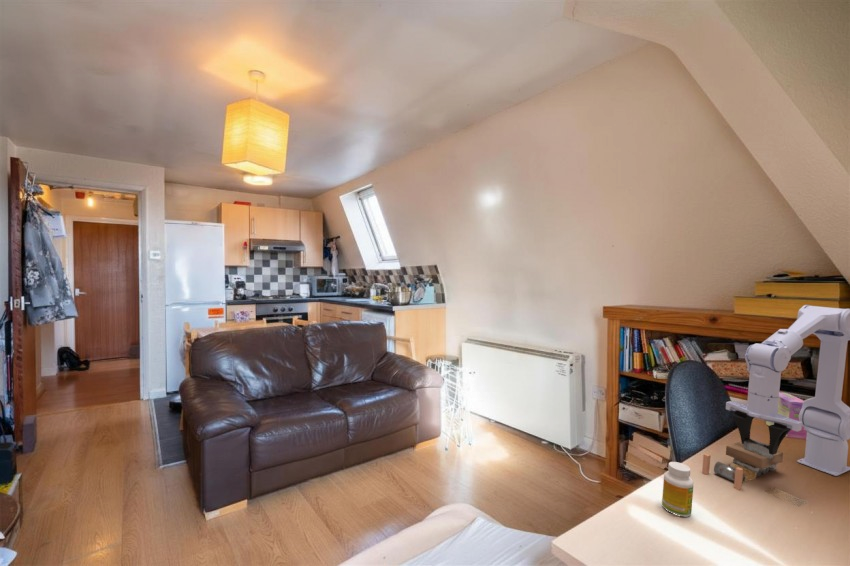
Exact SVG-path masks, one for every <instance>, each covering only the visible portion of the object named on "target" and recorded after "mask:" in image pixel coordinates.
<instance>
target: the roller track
mask: <svg viewBox="0 0 850 566" xmlns="http://www.w3.org/2000/svg"><path fill="white" fill-rule="evenodd" d="M737 467H739V468H742V469H743V478H742V483H747V482H750V481H753V480H756V479H757V477H760V476H761V475H762V474H763V475H766V474H768V472H769V471H770V472H774V471H775V470H776V468H777V464H775V465H772V466H769V467H766V468H764V469H760V468H758V467H755V466H753V465H750V464H748V463H745V462H743V461H740V460H738V459H735V458H733V461H730V465H729V464H726V463H724V462H722V461H716V463H715V464H714V467H713V472H714V474H715V475H716V476H717V475H718V476H720V477H722V478H723V479H727V480H729V481H731V482H733V483H734V482H735V470H736V468H737ZM764 492H765V493H766V494H767V493H768V494H770V496H774V497H776V498H778V499H781V500H782V501H784V502H787V503H790V504H792V505H795V506H796V507H801V506H803V505H806V504H808V503H809V501H807V500H805V499H804V498H803V499H802V498H800V497H798V496H796V495H793V494H791V493H788V492H786V491H784V490H781V489H779V488H777V487H776V486H775V487H773V486H772V487H771V488H769V489H766V490H764Z"/></svg>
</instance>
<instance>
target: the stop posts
mask: <svg viewBox="0 0 850 566" xmlns="http://www.w3.org/2000/svg"><path fill="white" fill-rule="evenodd" d="M711 456H712V455H711V454H708V453H703V456H702V471H701V473H702V474H704V475H710V469H711V468H710V467H711ZM742 478H743V469H742V468H739V467H737V468H736V470H735V482H733V483H734V485H733V488H734V489H736V490H738V491H740V490H742V489H743V487H742V486H743V481H742Z"/></svg>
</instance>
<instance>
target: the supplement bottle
mask: <svg viewBox="0 0 850 566" xmlns="http://www.w3.org/2000/svg"><path fill="white" fill-rule="evenodd" d="M667 469H668V470H667V471H666V472H665V473H664V475H663V483H662V485H663V486H662V497H661V498H662V499H661V506H662V505H663V506H662V507H664V508H665V509H667V510H668V511H670V512H672V513H675V514H677V515H680V516H684V517H683V518H688V516H689V517H691V515H692V512H693V511H692V508H693V496H694V481H693V479H692V478H691V468H690V466H688V465H687V464H685V463H681V462H677V461H670V462H668V466H667ZM664 508H663V509H664ZM665 509H664V510H665ZM668 511H667V512H668ZM680 516H679V517H680Z"/></svg>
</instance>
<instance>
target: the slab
mask: <svg viewBox="0 0 850 566" xmlns="http://www.w3.org/2000/svg"><path fill="white" fill-rule="evenodd" d="M743 445H744V444H742V442H741V441H739V442H735V443H731V444H728V445H726V446H725V447H726V449H725V455H726V456H729V457H731V458H733V459H734V458H735V459H738V460H740V461H743V462H745V463H748V464H750V465H753V466H755V467H758V468H760V469H764V468H766V467H769V466H772V465H775V464H776V465H777V464H779V463H783V455H784V452H782V451H779V450H777V453H776V454H774V455H773V457H772V458H771V459H769V458H767V457H764V456H761V455H758V454H756V453H753V452H750V451H748V450H745V449H744V446H743Z"/></svg>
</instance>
